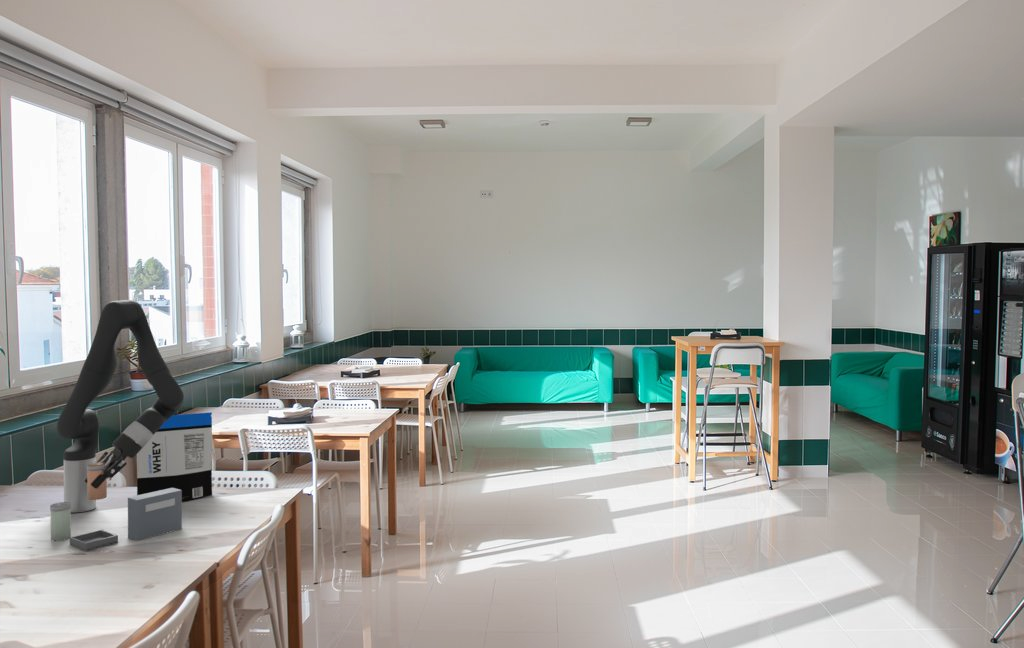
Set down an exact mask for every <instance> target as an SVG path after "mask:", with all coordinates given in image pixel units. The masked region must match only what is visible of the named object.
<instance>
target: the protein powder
mask: <svg viewBox="0 0 1024 648" xmlns="http://www.w3.org/2000/svg"><path fill="white" fill-rule="evenodd" d="M212 414H213V412H212V411H211V412H201V413H199V412H196V413H187V414H174V415H172V416H171V417H170V418H169V419H168V420H167V421H165V422H164V424H163V425H162V426H161V427H160V428H159V429H158V431H157V432H156V433H155V434H154V435H153V436H152V437H151V439H150V440H149V441H148V443H147V444H146V445H145V446H144V447H143V448H142V449H141V450H140V451H139V452H138V453H137V454H136V479H137V481H136V482H137V483H136V496H137V495H141V494H146V493H150V492H155V491H159V490H164V489H168V488H176V489H179V490H182V503H187V502H192V501H196V500H200V499H204V498H207V497H209V496H213V479H212V478H213V476H212V475H213V473H212V466H213V465H212V462H213V461H212V458H213V455H212V453H213V421H212V420H213V417H212ZM135 418H136V419H137V418H138V417H135ZM136 419H135V420H136Z"/></svg>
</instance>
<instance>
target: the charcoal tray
mask: <svg viewBox="0 0 1024 648" xmlns="http://www.w3.org/2000/svg"><path fill="white" fill-rule="evenodd" d="M118 543H119V535H118V534H117V533H113V532H110V531H108V530H104V529H97V530H94V531H91V532H87V533H83V534H79V535H75V536H71V537H70V538H69V545H70V546H71V547H73V546H74V547H73V548H76V549H78V548H79V550H81V551H84V552H89V551H93V550H96V549H100V548H103V547H107V546H111V545H115V544H118Z"/></svg>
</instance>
